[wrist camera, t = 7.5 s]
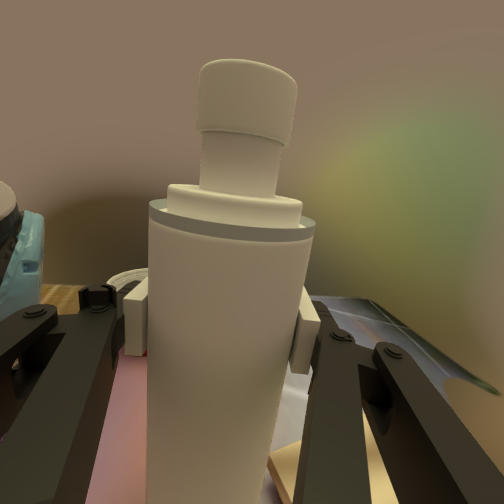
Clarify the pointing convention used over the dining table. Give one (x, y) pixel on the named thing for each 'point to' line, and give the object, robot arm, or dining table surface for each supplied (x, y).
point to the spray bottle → (224, 294)
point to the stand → (286, 465)
